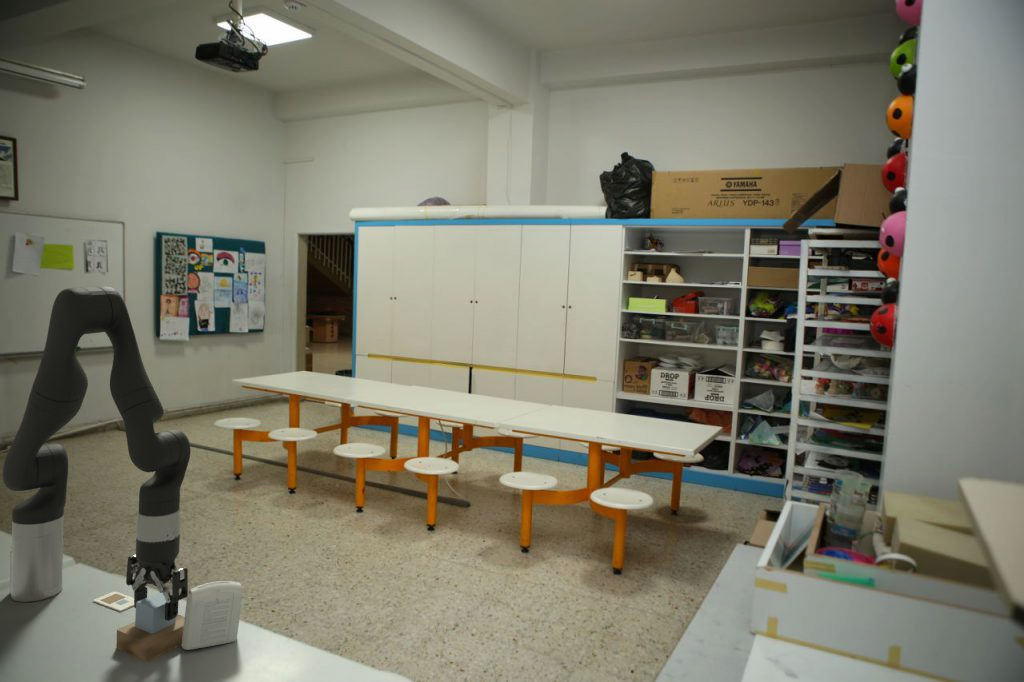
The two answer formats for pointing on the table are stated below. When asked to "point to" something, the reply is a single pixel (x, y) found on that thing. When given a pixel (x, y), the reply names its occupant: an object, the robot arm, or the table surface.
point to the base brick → (150, 640)
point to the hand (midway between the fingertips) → (155, 613)
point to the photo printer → (212, 614)
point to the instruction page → (116, 601)
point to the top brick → (152, 614)
